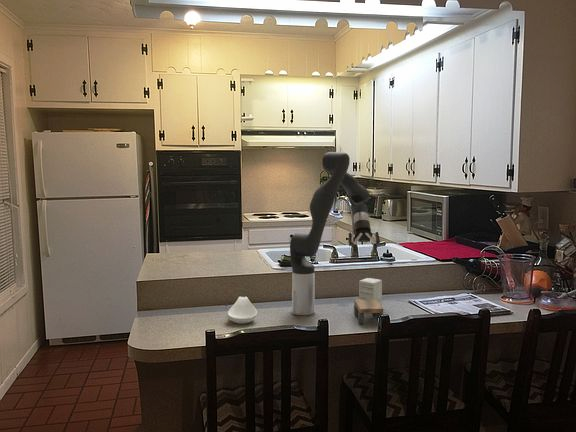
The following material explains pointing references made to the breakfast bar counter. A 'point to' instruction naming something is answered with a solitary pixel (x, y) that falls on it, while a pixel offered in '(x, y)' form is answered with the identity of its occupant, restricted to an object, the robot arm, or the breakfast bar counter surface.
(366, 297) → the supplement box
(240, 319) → the white conical piece
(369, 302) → the brown block with legs
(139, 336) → the breakfast bar counter surface
